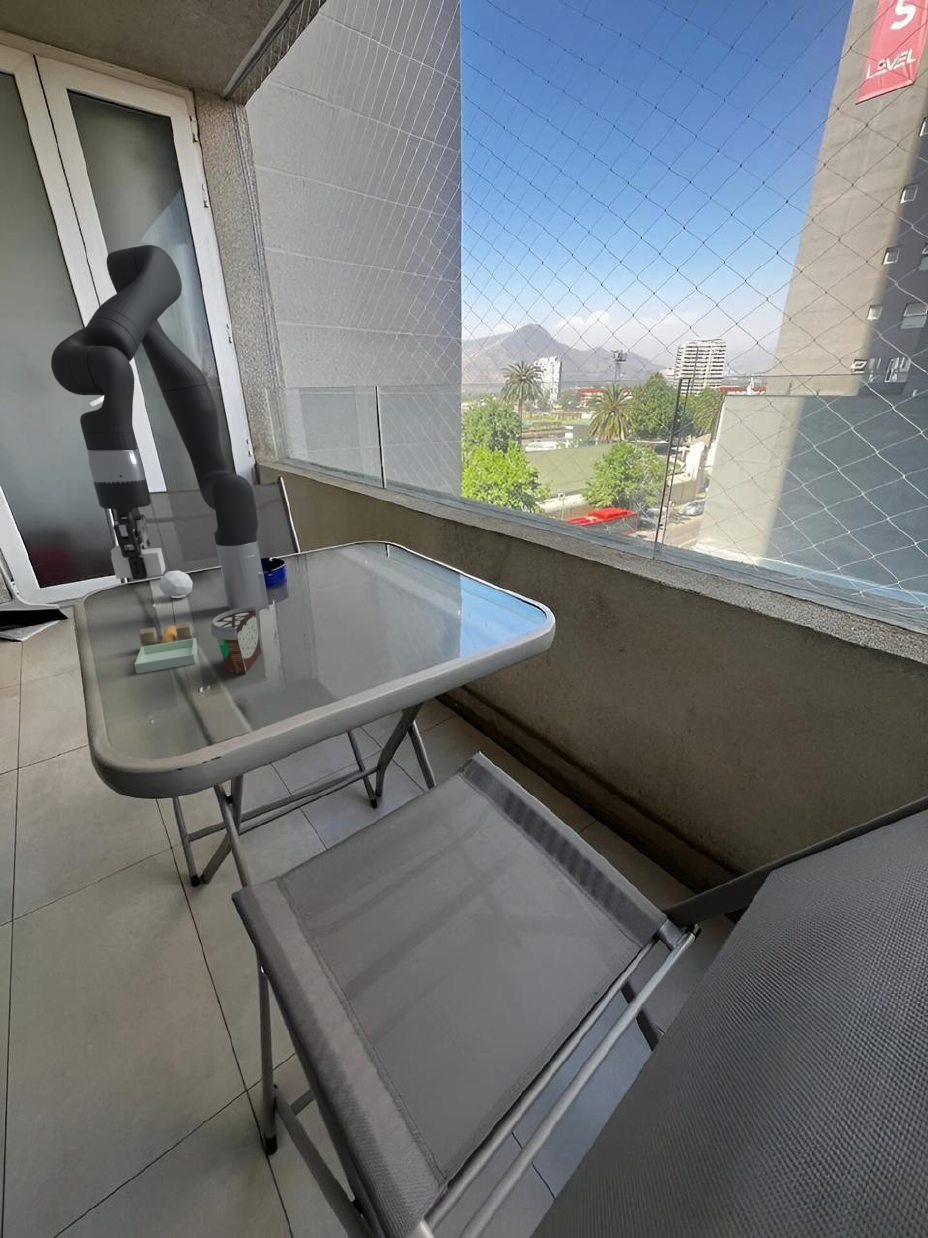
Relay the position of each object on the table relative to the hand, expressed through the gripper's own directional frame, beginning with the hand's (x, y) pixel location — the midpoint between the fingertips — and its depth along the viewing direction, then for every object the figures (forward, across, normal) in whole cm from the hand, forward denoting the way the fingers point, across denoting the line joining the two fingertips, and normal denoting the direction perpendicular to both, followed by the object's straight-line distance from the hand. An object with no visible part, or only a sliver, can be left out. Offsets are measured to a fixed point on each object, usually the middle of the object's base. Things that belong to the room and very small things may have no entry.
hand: (143, 575), depth 89 cm
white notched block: (0, 0, 0) cm, 0 cm away
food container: (+18, -8, -13) cm, 24 cm away
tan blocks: (+17, +7, 0) cm, 19 cm away
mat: (+18, +4, -1) cm, 18 cm away
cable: (+17, +9, 0) cm, 19 cm away
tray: (+17, 0, -1) cm, 17 cm away
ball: (+18, +45, +2) cm, 49 cm away
